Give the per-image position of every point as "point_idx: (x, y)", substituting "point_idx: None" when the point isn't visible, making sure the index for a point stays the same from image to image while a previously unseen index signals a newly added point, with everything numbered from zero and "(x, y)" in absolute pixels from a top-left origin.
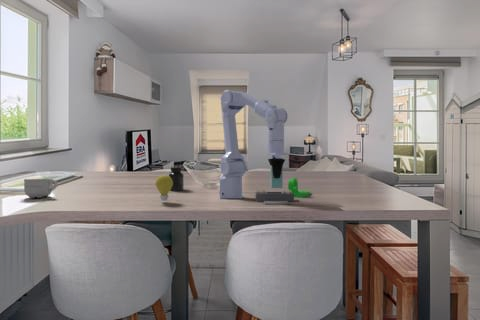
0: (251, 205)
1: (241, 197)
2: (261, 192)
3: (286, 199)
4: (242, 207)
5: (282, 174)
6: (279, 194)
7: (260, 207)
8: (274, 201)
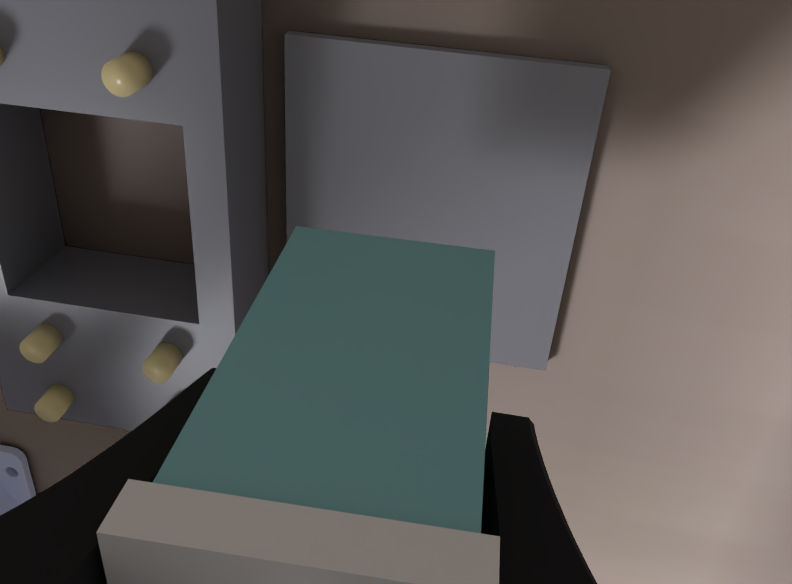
0: (585, 486)
1: (21, 468)
2: (84, 365)
3: (252, 41)
4: (713, 575)
5: (486, 415)
6: (229, 171)
7: (774, 448)
8: (369, 227)
